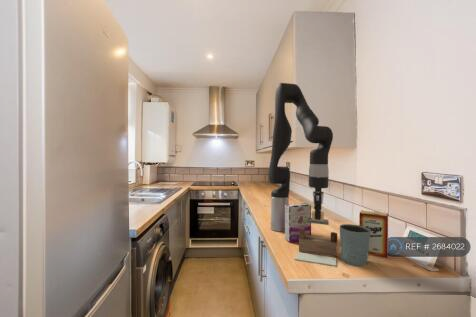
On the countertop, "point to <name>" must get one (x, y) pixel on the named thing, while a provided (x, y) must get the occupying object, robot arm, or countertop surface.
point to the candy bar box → (296, 220)
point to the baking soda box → (376, 231)
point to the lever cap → (321, 221)
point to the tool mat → (316, 259)
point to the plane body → (318, 244)
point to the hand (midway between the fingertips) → (317, 218)
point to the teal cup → (354, 244)
